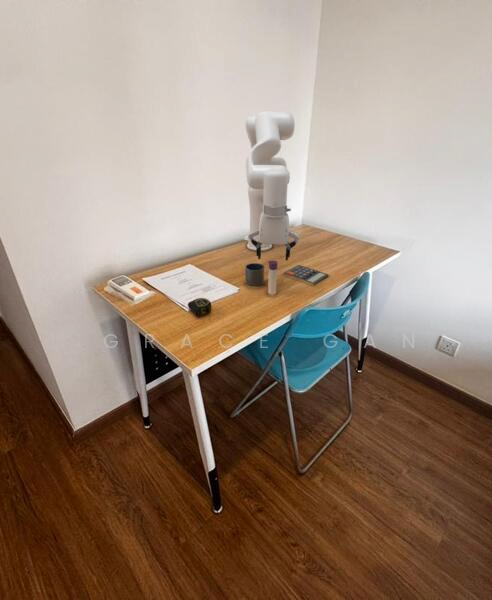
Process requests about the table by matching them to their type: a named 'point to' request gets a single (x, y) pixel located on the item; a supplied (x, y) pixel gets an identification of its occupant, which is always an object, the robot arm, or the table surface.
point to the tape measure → (200, 306)
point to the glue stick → (272, 277)
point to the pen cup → (254, 274)
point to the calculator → (306, 274)
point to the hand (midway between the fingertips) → (273, 258)
